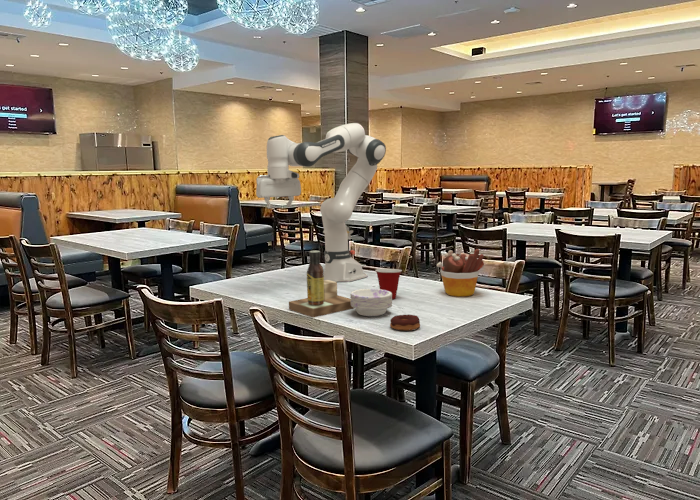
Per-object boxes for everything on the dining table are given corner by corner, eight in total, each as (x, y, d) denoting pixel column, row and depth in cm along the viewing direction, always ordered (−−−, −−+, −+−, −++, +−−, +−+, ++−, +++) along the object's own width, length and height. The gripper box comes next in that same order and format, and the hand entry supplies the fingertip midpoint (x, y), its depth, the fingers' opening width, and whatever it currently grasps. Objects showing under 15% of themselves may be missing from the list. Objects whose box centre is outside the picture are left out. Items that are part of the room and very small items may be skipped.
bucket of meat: (429, 292, 227) (429, 246, 224) (458, 287, 236) (458, 242, 233) (463, 301, 211) (464, 251, 208) (493, 295, 219) (493, 247, 217)
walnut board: (330, 300, 217) (330, 292, 217) (356, 307, 205) (355, 299, 204) (288, 309, 205) (288, 301, 204) (313, 317, 192) (312, 308, 192)
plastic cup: (404, 295, 223) (404, 267, 221) (398, 301, 213) (398, 272, 211) (379, 294, 226) (379, 266, 225) (372, 300, 216) (371, 271, 214)
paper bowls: (395, 308, 202) (394, 288, 201) (388, 319, 187) (388, 297, 186) (355, 307, 205) (355, 287, 204) (346, 318, 191) (345, 296, 190)
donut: (383, 328, 177) (383, 317, 177) (401, 322, 185) (401, 311, 184) (408, 334, 171) (408, 322, 170) (426, 327, 178) (425, 315, 178)
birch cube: (328, 294, 215) (327, 279, 214) (337, 297, 210) (336, 282, 209) (315, 297, 211) (315, 282, 210) (324, 299, 206) (324, 284, 205)
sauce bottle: (307, 302, 202) (305, 250, 199) (324, 301, 202) (322, 249, 200) (307, 306, 196) (305, 252, 193) (324, 305, 196) (323, 251, 193)
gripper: (260, 175, 216) (261, 209, 218) (302, 174, 228) (303, 206, 230) (252, 175, 221) (254, 208, 223) (294, 174, 233) (295, 206, 235)
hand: (279, 207), depth 227 cm, fingers open, 8 cm apart
